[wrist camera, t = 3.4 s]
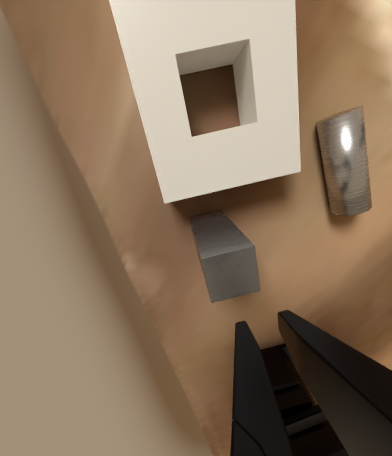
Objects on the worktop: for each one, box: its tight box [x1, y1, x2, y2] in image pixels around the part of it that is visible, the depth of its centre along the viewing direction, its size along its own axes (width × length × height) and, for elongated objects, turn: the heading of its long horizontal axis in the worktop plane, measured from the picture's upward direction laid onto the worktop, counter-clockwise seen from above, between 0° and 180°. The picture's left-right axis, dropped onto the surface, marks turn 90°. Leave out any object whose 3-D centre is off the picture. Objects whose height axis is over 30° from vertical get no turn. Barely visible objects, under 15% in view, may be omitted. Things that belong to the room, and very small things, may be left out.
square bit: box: [189, 210, 260, 303], centre depth 15 cm, size 3×3×8 cm
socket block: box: [109, 0, 301, 203], centre depth 14 cm, size 12×10×4 cm
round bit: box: [316, 106, 372, 216], centre depth 17 cm, size 8×3×3 cm
